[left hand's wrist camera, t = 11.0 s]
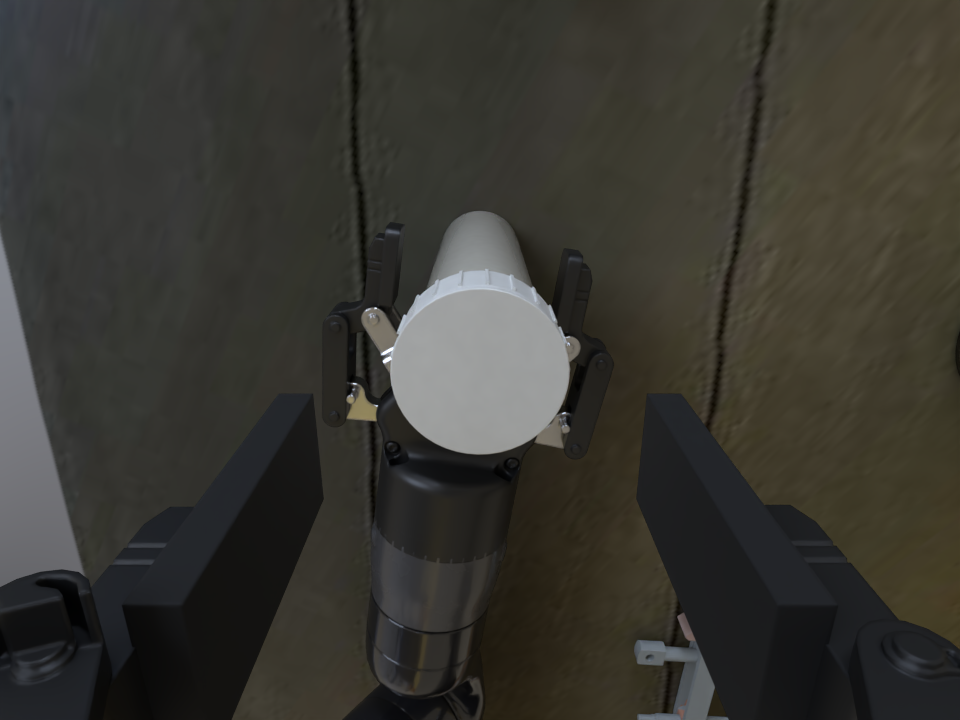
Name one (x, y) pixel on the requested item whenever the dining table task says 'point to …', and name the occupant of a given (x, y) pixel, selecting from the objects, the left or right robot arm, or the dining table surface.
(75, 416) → the dining table surface
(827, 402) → the dining table surface
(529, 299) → the lid
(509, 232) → the jar
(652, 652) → the clamp
